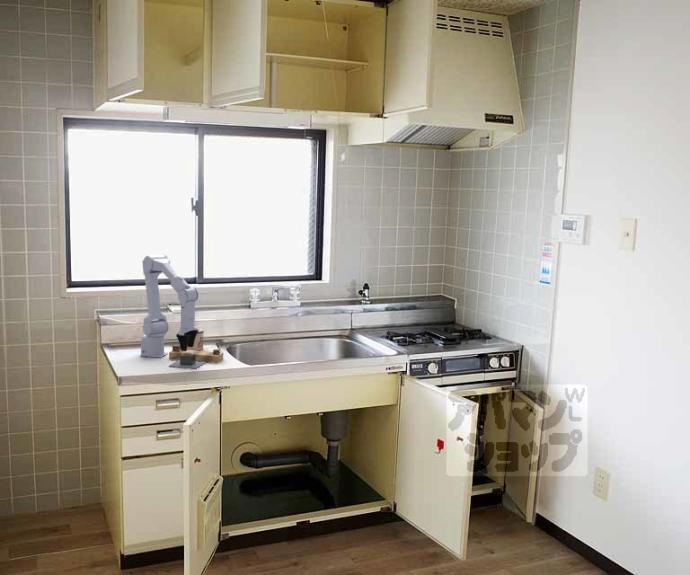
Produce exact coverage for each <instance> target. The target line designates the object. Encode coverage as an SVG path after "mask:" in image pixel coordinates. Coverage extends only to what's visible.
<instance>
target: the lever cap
mask: <svg viewBox="0 0 690 575" xmlns="http://www.w3.org/2000/svg"><path fill="white" fill-rule="evenodd" d="M193 364H195V354H191V353H190V352H183V354H182V355H180V365H190V366H192V365H193Z"/></svg>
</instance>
